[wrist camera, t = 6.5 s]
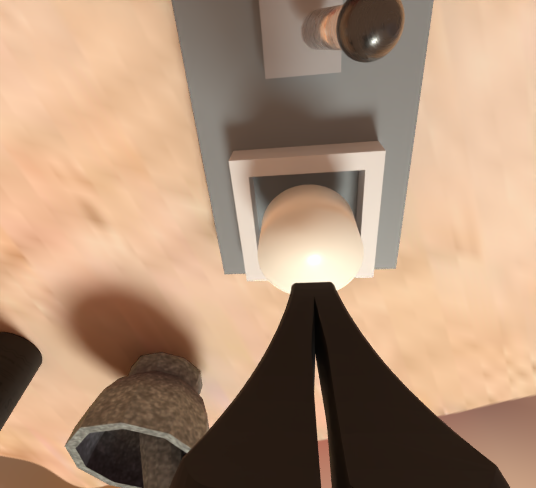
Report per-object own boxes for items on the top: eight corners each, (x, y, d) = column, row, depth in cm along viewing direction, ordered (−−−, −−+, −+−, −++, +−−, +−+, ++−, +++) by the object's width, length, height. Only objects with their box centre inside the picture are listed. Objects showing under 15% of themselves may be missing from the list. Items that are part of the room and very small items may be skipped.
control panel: (484, -559, 8) (589, -879, 5) (387, 249, 21) (403, 285, 18) (102, -462, 9) (15, -686, 6) (229, 255, 22) (220, 290, 19)
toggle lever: (332, -2, 12) (424, -23, 8) (331, 56, 13) (414, 59, 9) (286, 1, 11) (362, -19, 8) (288, 61, 12) (358, 67, 9)
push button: (356, 181, 15) (367, 206, 13) (352, 263, 17) (360, 295, 15) (257, 187, 15) (251, 212, 13) (266, 266, 18) (262, 298, 16)
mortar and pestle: (88, 362, 29) (-21, 541, 19) (165, 321, 26) (84, 510, 16) (178, 426, 34) (129, 597, 24) (253, 398, 30) (235, 582, 20)
